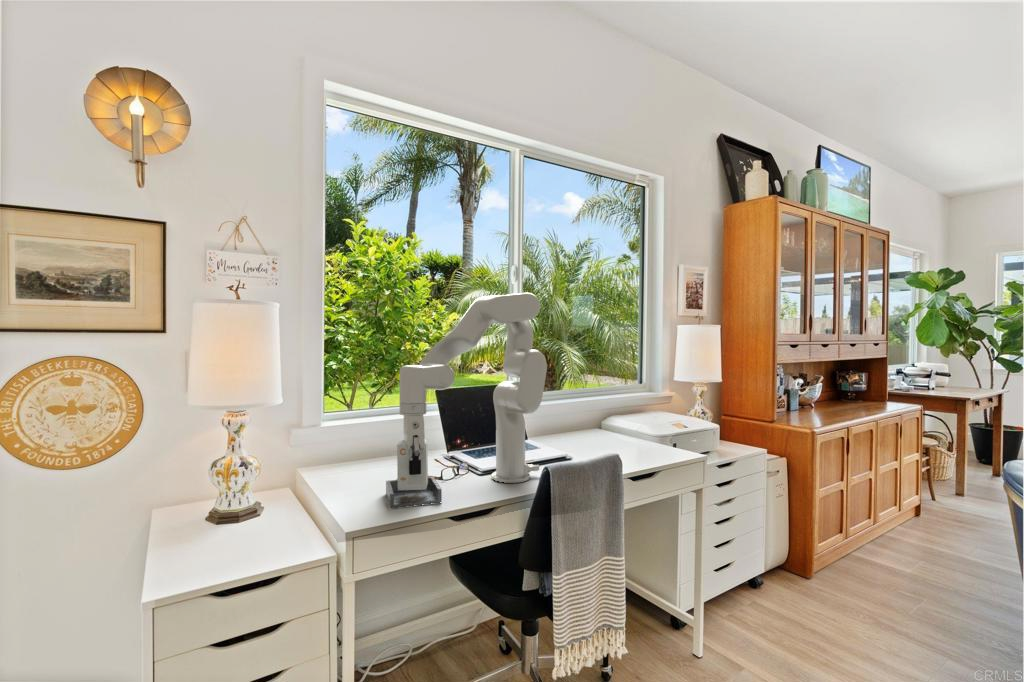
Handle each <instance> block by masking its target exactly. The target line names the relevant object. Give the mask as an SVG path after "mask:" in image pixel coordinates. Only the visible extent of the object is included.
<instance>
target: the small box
mask: <svg viewBox="0 0 1024 682" xmlns="http://www.w3.org/2000/svg"><path fill="white" fill-rule="evenodd" d="M396 448H397V449H396V451H397V455H396V456H397V457H396V459H397V460H396V461H397V463H396V465H397V474H396V475H397V478H396V479H398V491H400V490H426V488H427V484H428V477H429V474H428V473H429V467H428V466H429V465H428V464H429V463H428V462H429V461H428V460H429V459H428V456H429V455H428V439H425V449H424V450H423V449H421V448H420V457H421V474H417V475H410V474H409V460H410V451H409V450H407V445H406V443H405V441H404V439H400V440H399V441H398V443H397V445H396ZM411 449H414V447H411ZM412 453H413V452H412Z"/></svg>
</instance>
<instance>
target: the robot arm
mask: <svg viewBox="0 0 1024 682" xmlns="http://www.w3.org/2000/svg"><path fill="white" fill-rule="evenodd" d="M540 311H541V301H540V299H539V298H538V296H536V295H535V294H533V293H531V292H521V293H519V292H518V293H510V294H500V295H498V294H497V295H488V296H487V295H486V296H481V297H478V298H476V299H474V301H472V303H471V304H470V306H469V307H468V308H467V310H466V311H465V313H464V314H463V316H462V317H461V318H460V319H459V321H458V323H457V324H456V325H455V326H454V328H453V329H452V330H451V331H450V332H448V334H447V335H445V336H444V337H443V338H442V339H440V340H439V341H438V342H437V343H435V345H433V346H432V347H431V348H430V350H429V351H428V352H427V353H426V354H425V356H423V358H422V360H421V361H420V363H419V364H407V365H403V366H401V367H400V368H399V415H401V416H403V440H404V441H405V443H406V445H407V450H409V451H410V460H409V474H410V475H417V474H421V457H420V448H421V449H423V450H424V449H425V440H426V438H425V420H424V419H425V417H424V415H427V390H435V391H437V390H438V391H444V390H447V389H449V388H451V387H452V386H453V384H454V383H455V381H456V374H455V371H454V369H453V368H452V367H451V366H449V365H448V364H449V363H450V362H452V360H454V359H455V358H457V357H459V356H461V355H463V354H466V353H468V352H470V351H471V350H473V349H474V348H475V347H477V345H478V344H479V342H480V341H481V340H482V338H483V336H484V334H485V333H486V332H487V330H488V329H489V328H490V327H491V325H492V324H505V326H506V328H507V329H506V330H507V340H506V345H505V350H504V357H503V363H502V369H503V372H504V373H505V374H506V375H507V376H509V377H511V378H517V379H519V381H514V380H513V381H512V380H507V381H501V382H500V383H499V384H497V385H496V387H495V388H494V389H493V395H492V398H493V399H492V400H493V406H494V413H495V471H494V472H492V473H491V475H490V476H491V478H490V479H491V480H493V479H494V480H495V481H494V480H493V481H494V482H497V481H499V482H498V483H502V482H504V483H503V484H517V483H518V484H519V483H523V482H527V481H529V480H530V478H531V475H530V473H531V472H538V471H539V472H540V465H539V464H533V463H531V464H528V463H526V421H525V416H524V414H525V415H530V414H533V413H536V411H538V409H539V408H540V407H541V403H542V400H543V395H544V389H545V383H546V378H547V370H548V364H547V360H546V357H545V355H544V354H543V353H542V352H541V351H539V350H538V349H533V343H534V330H533V326H532V324H531V321H530V320H533V319H534V318H535V317H537V316H538V315H539V313H540ZM411 447H414V449H411ZM412 452H413V453H412Z"/></svg>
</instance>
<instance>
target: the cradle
mask: <svg viewBox="0 0 1024 682" xmlns="http://www.w3.org/2000/svg"><path fill="white" fill-rule="evenodd" d="M442 492H443V491H442V487H441V485H440V484H439V482H438V481H437V480H436V478H435V477H434V476H428V484H427V488H426V490H400V491H398V478H396V479H393V480H392V479H389V480H385V495H386V500H387V499H388V500H387V502H388V507H389V506H390V507H389V509H390V508H394V509H400V508H399V507H403V508H407V507H406V506H412V507H415V506H414V505H421V506H423V505H422V504H431V503H440V502H442V499H443V498H442ZM440 504H441V503H440ZM431 505H432V504H431Z"/></svg>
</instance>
